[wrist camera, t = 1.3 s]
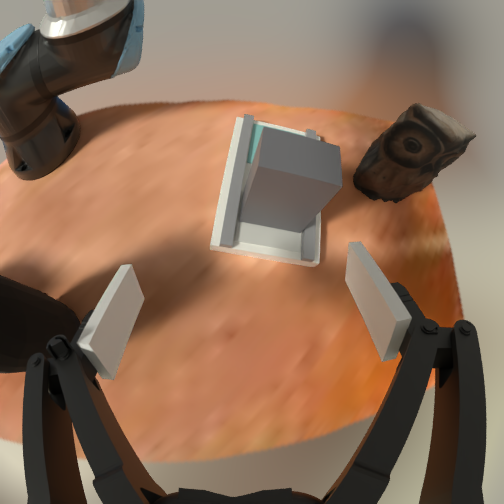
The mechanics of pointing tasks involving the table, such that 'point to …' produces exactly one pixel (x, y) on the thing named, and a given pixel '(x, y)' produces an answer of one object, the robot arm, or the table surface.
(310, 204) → the grey rectangular block
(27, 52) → the robot arm
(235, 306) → the table surface
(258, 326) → the table surface
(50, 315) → the portable speaker
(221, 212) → the white flat rectangular tray
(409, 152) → the owl
